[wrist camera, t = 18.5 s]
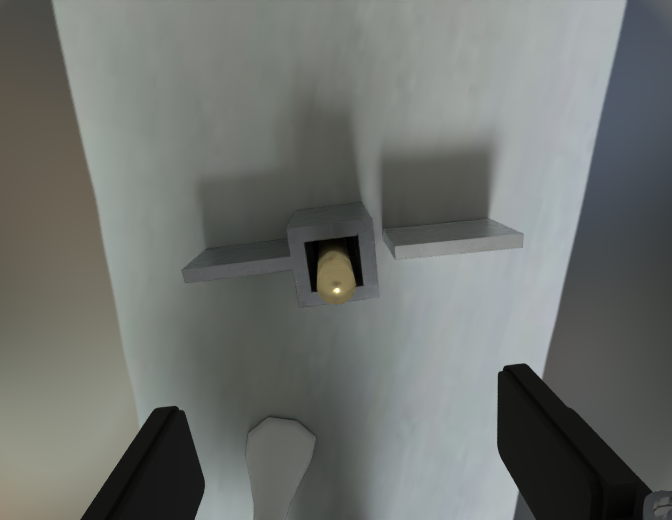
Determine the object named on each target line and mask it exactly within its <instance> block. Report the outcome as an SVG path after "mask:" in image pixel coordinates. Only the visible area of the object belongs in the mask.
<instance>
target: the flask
mask: <svg viewBox="0 0 672 520" xmlns="http://www.w3.org/2000/svg"><path fill="white" fill-rule="evenodd" d="M315 441H316V437H315V436H314V435H313V434H312V433H311V432H309V431H308V430H307V429H306V428H305V427H303V426H302V425H301V424H300V423H299V422H297V421H295V420H287V419H279V418H271V417H267V418H266V419H265V420H264V421H263V422H261V423H260V424H259V425H258V426H256V427H255V428H254V429H253V430H252V431H250V432H249V433H248V438H247V445H246V452H245V458H246V464H247V468H248V473H249V478H250V484H251V490H252V497H253V503H254V517H253V520H286V516H287V513H288V509H289V506H290V504H291V501H292V499H293V497H294V495H295V493H296V490H297V488H298V486H299V484H300V482H301V480H302V478H303V476H304V474H305V472H306V470H307V468H308V466H309V464H310V462H311V460H312V456H313V451H314V446H315Z"/></svg>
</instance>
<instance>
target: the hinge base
mask: <svg viewBox="0 0 672 520" xmlns="http://www.w3.org/2000/svg"><path fill="white" fill-rule="evenodd" d="M286 231H287V237H288V239H282V240H274V241H266V242H258V243H250V244H242V245H234V246H226V247H218V248H210V249H205V250H204V251H203V252H202V253H201V254H200V255H198V256H197V257H196V258H195V259H194V260H193V261H192V262H190V263H189V264H188V265H187V266H186V267H185V268H183V269H182V274H183V277H184V281H185V283H191V282H199V281H207V280H215V279H223V278H231V277H239V276H247V275H255V274H263V273H271V272H279V271H287V270H293V273H294V279H295V285H296V291H297V297H298V303H299V308H300V307H308V306H316V305H324V304H330V303H327V302H325V301H324V300H323V299H322V298H321V297H320V296H319V294H318V291H317V271H318V261H314V254H313V248H312V241H316V240H324V239H332V238H340V237H348V236H353V237H354V246H355V255H356V256H354V257H349V258H350V262H351V266H352V270H353V274H354V279H355V283H356V289H355V293H354V295H353V296H352V298H351V299H350V300H348V301H347V302H349V301H357V300H365V299H373V298H379V287H378V276H377V265H376V254H375V244H374V233H373V222H372V217H371V216H370V214H369V213H368V211H367V209H366V208H365V206H364V205H363V203H362V202H359V203H351V204H343V205H335V206H327V207H319V208H312V209H304V210H296V211H294V214H293V216H292V218H291V220H290V222H289V224H288V226H287V228H286Z"/></svg>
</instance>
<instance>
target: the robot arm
mask: <svg viewBox="0 0 672 520" xmlns="http://www.w3.org/2000/svg"><path fill="white" fill-rule="evenodd" d="M497 447H498V451H499V454H500V457H501V459H502V461H503V463H504V464H505V466H506V468H507V470H508V471H509V473H510V475H511V477H512V478H513V480H514V482H515V484H516V485H517V487H518V489H519V491H520V492H521V494H522V496H523V497H524V499H525V501H526V502H527V504H528V506H529V508H530V510H531V512H532V513H533V515H534V517H535V518H536V520H672V491H667V490H660V491H655V492H652V491H651V490H650V489H649V488H648V486H647V485H646V484H645V483H644V482H643V481H642V480H641V479H640V478H639V477H638V476H637V475H636V474H635V473H634V472H633V471H632V470H631V469H630V468H629V467H628V466H627V465H626V464H625V463H624V462H623V460H621V458H620V457H619V456H618V455H617V454H616V453H615V452H614V451H613V450H612V449H611V448H610V447H609V446H608V445H607V444H606V443H605V442H604V441H603V440H602V439H601V438H600V437H599V436H598V434H597V433H596V432H595V431H594V430H593V429H592V428H591V427H590V426H589V425H588V424H587V423H586V422H585V421H584V420H583V419H582V418H581V417H580V416H579V415H578V414H577V413H576V412H575V411H574V410H572V409H571V408H569V407H567V406H566V405H565V404H564V403H563V402H562V401H561V400H560V399H559V398H558V397H557V396H556V395H555V393H554V392H553V391H552V390H551V389H550V388H549V387H548V386H547V385H546V384H545V383H544V382H543V381H542V380H541V379H540V378H539V376H538V375H537V374H536V373H535V372H534V371H533V370H532V369H531V368H530V367H529V366H528V365H527V364H524V363H523V364H514V365H506V366H504V368H503V371H500V372H499V373H498V416H497ZM204 489H205V481H204V477H203V473H202V470H201V466H200V463H199V460H198V456H197V453H196V449H195V446H194V442H193V439H192V436H191V432H190V429H189V425H188V422H187V418H186V415H185V412H184V411H183V410H179V408H178V407H177V406H169V407H161V408H156V409H154V410H153V411H152V413H151V414H150V416H149V417H148V419H147V420H146V422H145V423H144V425H143V426H142V428H141V429H140V431H139V432H138V434H137V436H136V437H135V439H134V440H133V441H132V443H131V444H130V446H129V447H128V449H127V450H126V452H125V453H124V455H123V456H122V458H121V460H120V461H119V463H118V464H117V466H116V467H115V468H114V470H113V471H112V473H111V474H110V476H109V478H108V479H107V481H106V482H105V483H104V485H103V486H102V488H101V490H100V491H99V493H98V494H97V495H96V497H95V498H94V500H93V501H92V503H91V505H90V506H89V507H88V509H87V510H86V512H85V514H84V515H83V516H82V518H81V520H194V519H195V516H196V514H197V511H198V508H199V505H200V502H201V500H202V497H203V494H204Z"/></svg>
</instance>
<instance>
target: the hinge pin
mask: <svg viewBox="0 0 672 520" xmlns="http://www.w3.org/2000/svg"><path fill="white" fill-rule="evenodd" d="M355 289H356V283H355V279H354V274H353V270H352V266H351V262H350V258H349V253H348V249H347V245H346V241H345V237H340V238H332V239H324V240H319V247H318V271H317V291H318V294H319V296H320V297H321V298H322V299H323V300H324V301H325V302H327V303H330V304H342V303H345V302H347V301H348V300H350V299H351V298H352V296H353V295H354V293H355Z"/></svg>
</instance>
